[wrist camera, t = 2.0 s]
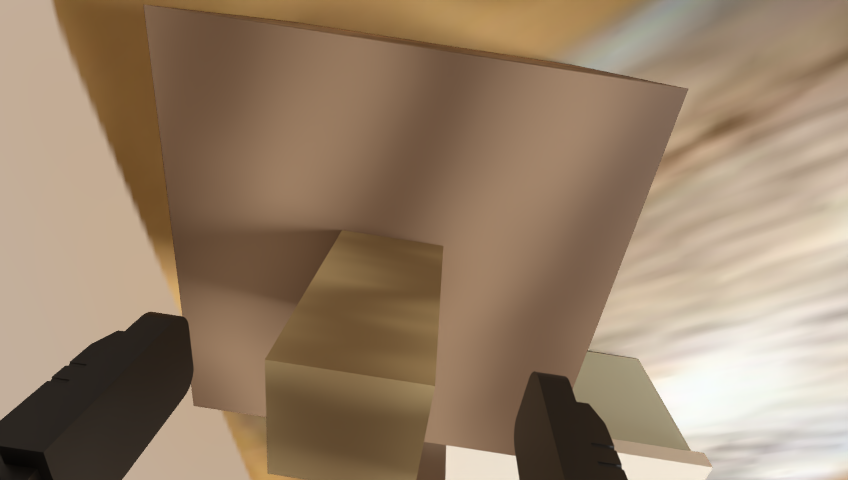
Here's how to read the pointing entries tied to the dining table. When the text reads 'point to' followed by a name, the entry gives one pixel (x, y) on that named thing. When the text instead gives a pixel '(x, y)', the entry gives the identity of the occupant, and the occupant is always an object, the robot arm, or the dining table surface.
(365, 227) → the cover
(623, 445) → the lid
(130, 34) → the dining table surface
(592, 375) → the box
